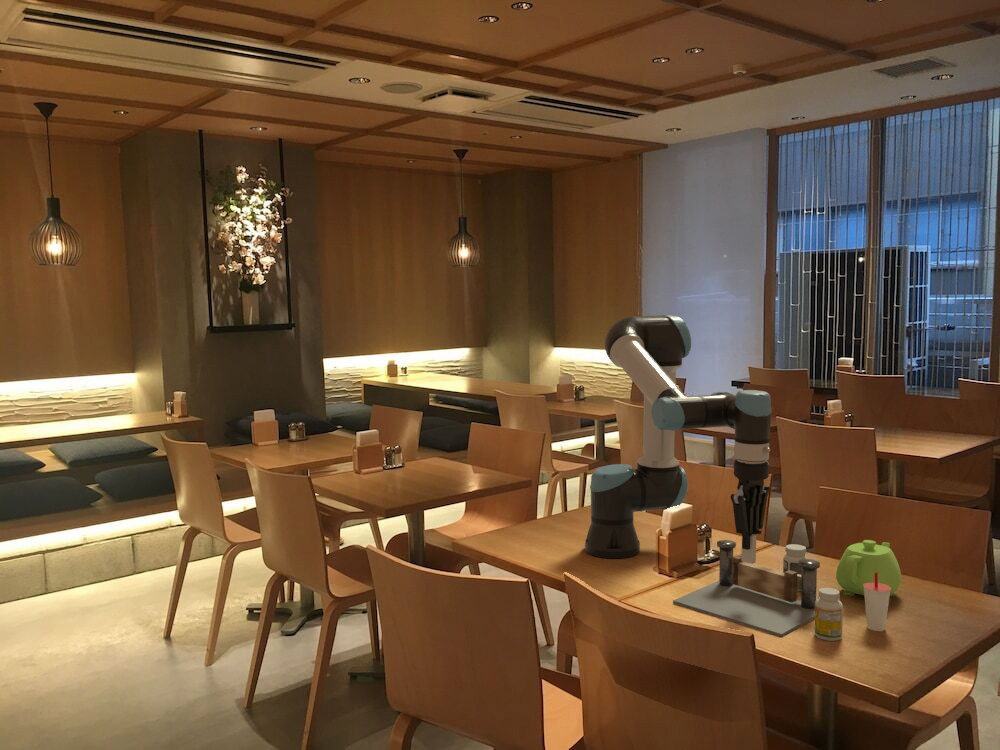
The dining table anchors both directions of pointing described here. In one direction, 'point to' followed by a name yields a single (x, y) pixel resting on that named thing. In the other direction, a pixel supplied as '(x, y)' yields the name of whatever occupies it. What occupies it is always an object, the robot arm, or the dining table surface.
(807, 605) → the post
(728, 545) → the hinge post
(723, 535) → the dining table surface
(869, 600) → the cup
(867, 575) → the teapot
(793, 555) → the pill bottle
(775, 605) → the base board
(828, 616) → the supplement bottle
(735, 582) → the wooden block
